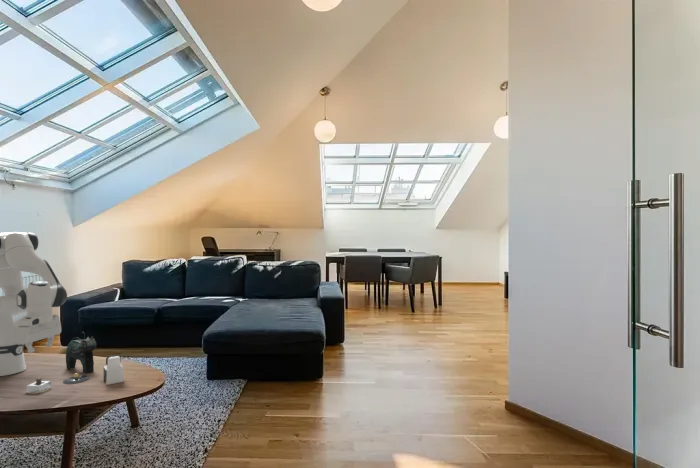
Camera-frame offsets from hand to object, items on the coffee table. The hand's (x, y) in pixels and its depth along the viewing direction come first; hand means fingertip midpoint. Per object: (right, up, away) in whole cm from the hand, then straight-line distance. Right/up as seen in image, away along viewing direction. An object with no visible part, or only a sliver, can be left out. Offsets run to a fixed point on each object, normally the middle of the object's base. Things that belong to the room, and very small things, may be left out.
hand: (40, 349), depth 177 cm
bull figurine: (-2, -19, +28) cm, 34 cm away
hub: (+8, -19, +12) cm, 23 cm away
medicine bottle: (+25, -19, +12) cm, 34 cm away
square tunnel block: (0, -18, -1) cm, 18 cm away
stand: (0, -19, -1) cm, 19 cm away
